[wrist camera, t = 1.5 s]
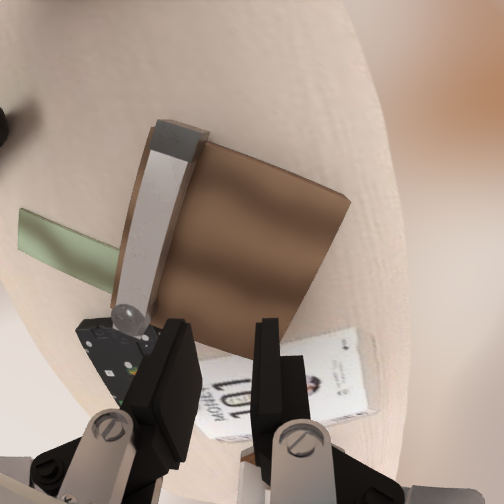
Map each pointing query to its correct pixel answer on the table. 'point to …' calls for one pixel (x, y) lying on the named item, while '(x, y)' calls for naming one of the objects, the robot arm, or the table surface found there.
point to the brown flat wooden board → (216, 247)
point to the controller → (3, 127)
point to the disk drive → (115, 352)
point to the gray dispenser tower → (253, 480)
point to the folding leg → (155, 222)
